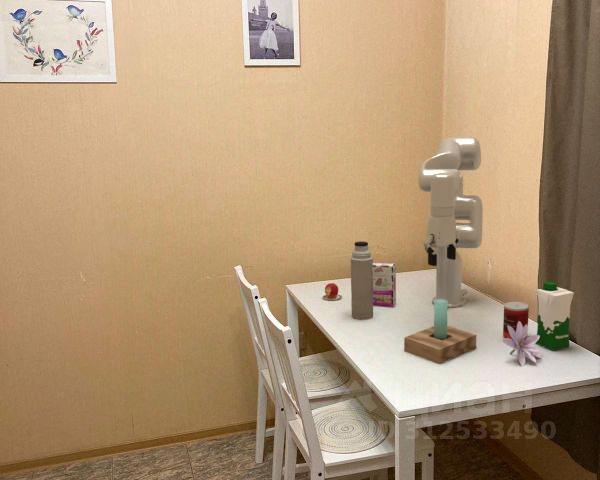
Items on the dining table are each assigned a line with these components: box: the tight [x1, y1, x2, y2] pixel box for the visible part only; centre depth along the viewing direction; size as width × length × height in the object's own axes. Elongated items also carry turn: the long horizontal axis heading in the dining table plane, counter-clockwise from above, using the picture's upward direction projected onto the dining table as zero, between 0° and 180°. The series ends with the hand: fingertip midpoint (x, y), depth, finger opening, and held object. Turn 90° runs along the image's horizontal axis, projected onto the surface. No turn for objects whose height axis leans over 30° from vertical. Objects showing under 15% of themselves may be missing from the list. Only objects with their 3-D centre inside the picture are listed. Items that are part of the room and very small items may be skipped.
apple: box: [322, 282, 343, 301], centre depth 253 cm, size 8×8×6 cm
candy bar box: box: [373, 261, 397, 308], centre depth 242 cm, size 11×5×16 cm, turn 68°
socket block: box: [403, 325, 477, 364], centre depth 197 cm, size 18×14×4 cm
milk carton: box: [535, 281, 575, 352], centre depth 195 cm, size 9×9×20 cm
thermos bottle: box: [350, 241, 374, 321], centre depth 228 cm, size 8×8×28 cm
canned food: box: [502, 301, 530, 341], centre depth 204 cm, size 8×8×11 cm
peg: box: [433, 299, 449, 340], centre depth 195 cm, size 4×4×16 cm
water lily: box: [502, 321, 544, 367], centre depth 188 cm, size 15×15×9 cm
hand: (441, 262), depth 205 cm, fingers open, 9 cm apart
